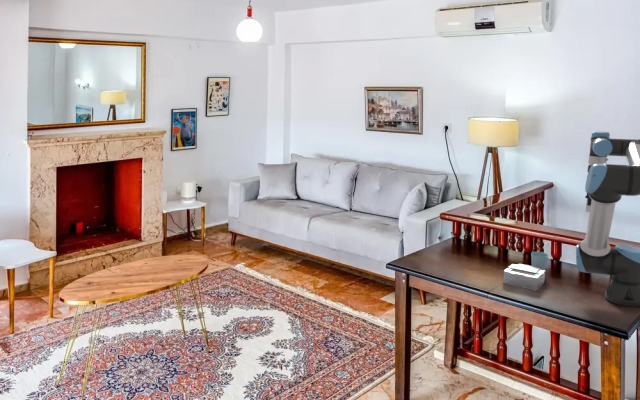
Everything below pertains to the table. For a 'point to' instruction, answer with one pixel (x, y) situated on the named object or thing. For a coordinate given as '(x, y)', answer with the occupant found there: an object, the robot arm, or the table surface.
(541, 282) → the white rectangular box
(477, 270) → the table surface
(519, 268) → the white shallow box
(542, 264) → the cup
